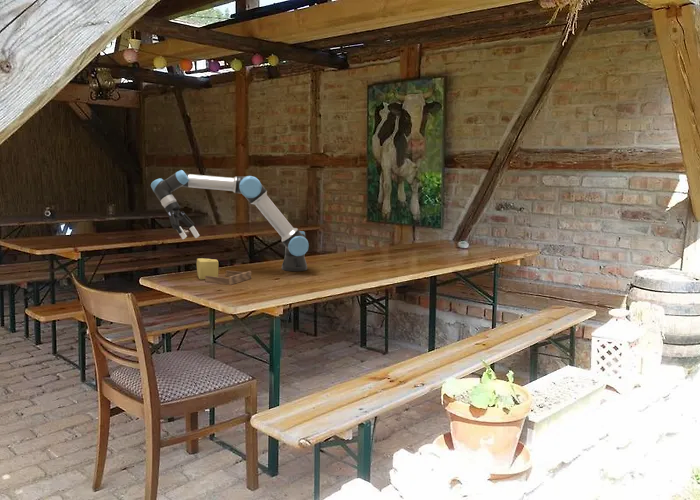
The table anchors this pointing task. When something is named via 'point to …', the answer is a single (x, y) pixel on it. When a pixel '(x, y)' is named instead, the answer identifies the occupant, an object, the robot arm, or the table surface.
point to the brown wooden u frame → (230, 277)
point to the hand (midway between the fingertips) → (191, 237)
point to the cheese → (207, 268)
